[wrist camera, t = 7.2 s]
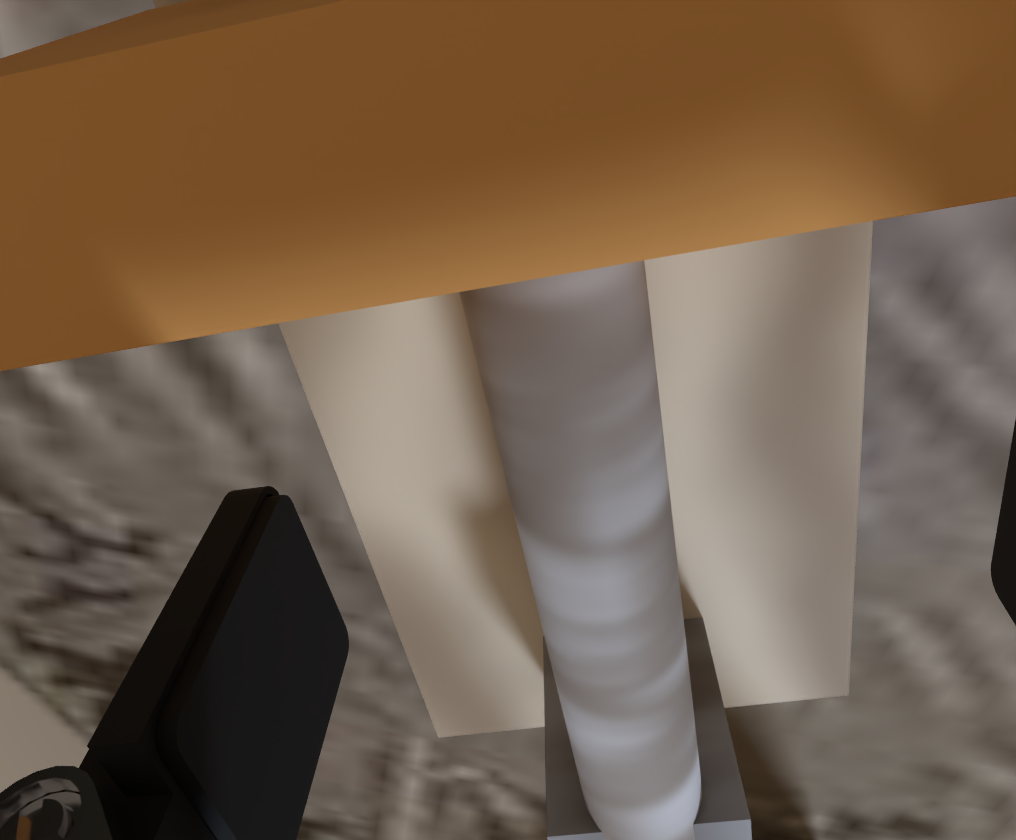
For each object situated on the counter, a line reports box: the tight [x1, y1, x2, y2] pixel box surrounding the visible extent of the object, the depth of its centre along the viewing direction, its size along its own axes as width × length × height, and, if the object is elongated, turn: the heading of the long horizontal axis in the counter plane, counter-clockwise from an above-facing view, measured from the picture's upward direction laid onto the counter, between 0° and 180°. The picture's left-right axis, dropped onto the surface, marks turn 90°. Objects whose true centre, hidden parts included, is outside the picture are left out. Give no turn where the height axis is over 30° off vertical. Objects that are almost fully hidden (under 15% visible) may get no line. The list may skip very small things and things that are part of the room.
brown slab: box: [0, 0, 1016, 371], centre depth 11 cm, size 13×3×8 cm, turn 101°
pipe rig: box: [153, 0, 873, 840], centre depth 18 cm, size 14×29×9 cm, turn 11°
